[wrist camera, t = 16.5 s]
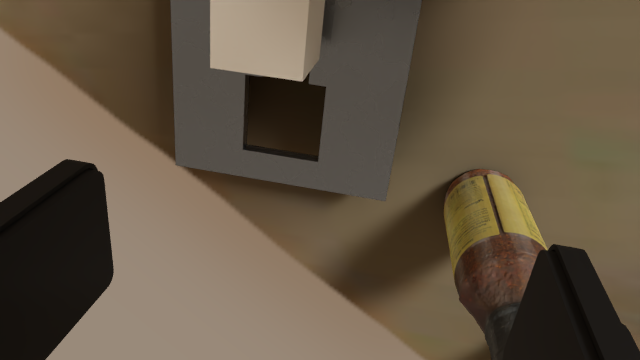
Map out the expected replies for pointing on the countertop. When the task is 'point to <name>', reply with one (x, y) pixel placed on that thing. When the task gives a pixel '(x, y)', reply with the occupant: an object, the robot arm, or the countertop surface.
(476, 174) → the sauce bottle
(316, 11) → the peg
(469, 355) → the countertop surface
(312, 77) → the slotted grey box
